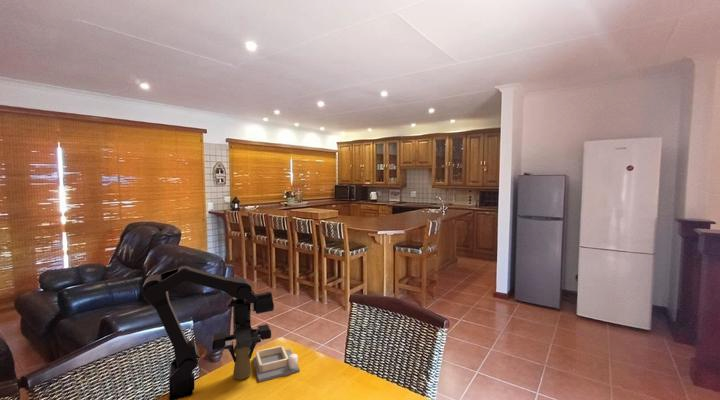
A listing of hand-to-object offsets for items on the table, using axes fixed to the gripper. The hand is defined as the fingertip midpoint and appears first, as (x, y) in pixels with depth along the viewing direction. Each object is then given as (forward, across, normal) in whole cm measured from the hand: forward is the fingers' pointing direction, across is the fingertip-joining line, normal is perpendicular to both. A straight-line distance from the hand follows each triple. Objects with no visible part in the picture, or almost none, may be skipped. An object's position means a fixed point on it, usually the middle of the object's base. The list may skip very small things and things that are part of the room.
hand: (242, 359), depth 111 cm
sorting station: (+6, +12, +1) cm, 13 cm away
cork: (+5, 0, 0) cm, 5 cm away
